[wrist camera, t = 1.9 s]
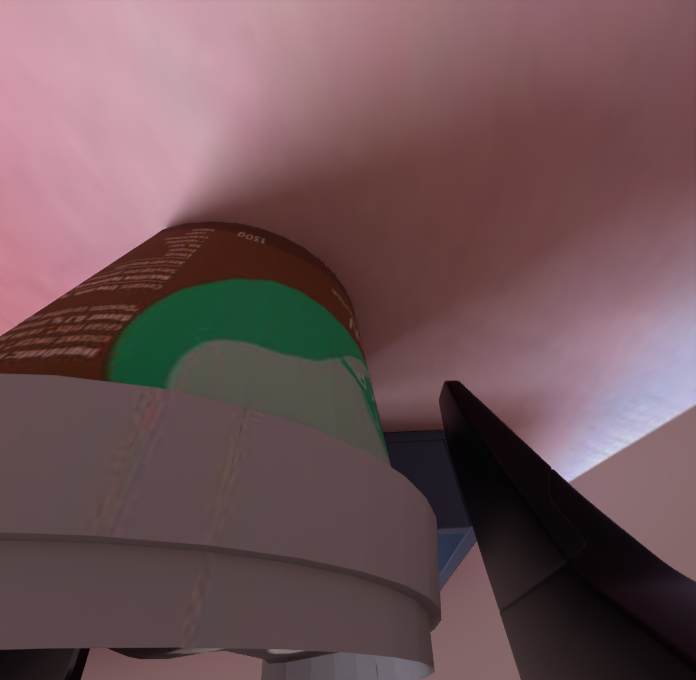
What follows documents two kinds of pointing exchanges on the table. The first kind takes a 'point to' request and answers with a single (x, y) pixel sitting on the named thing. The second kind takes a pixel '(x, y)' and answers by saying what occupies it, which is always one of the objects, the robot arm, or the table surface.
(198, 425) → the food container
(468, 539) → the tote
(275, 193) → the table surface
